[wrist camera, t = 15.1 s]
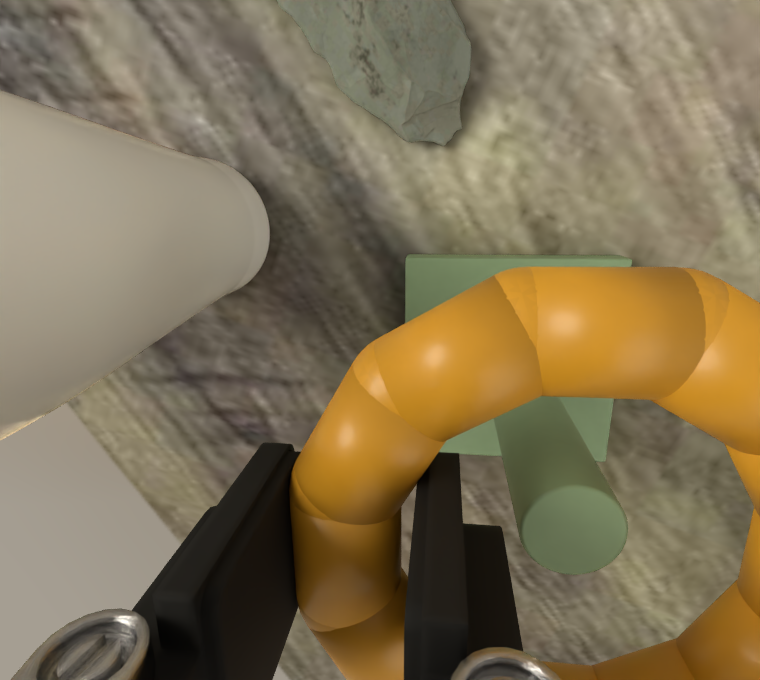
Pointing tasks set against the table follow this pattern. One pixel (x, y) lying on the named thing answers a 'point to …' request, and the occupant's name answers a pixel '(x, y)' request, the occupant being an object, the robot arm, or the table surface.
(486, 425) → the rack
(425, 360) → the ring
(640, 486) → the table surface
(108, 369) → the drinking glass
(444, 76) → the rock
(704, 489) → the table surface
